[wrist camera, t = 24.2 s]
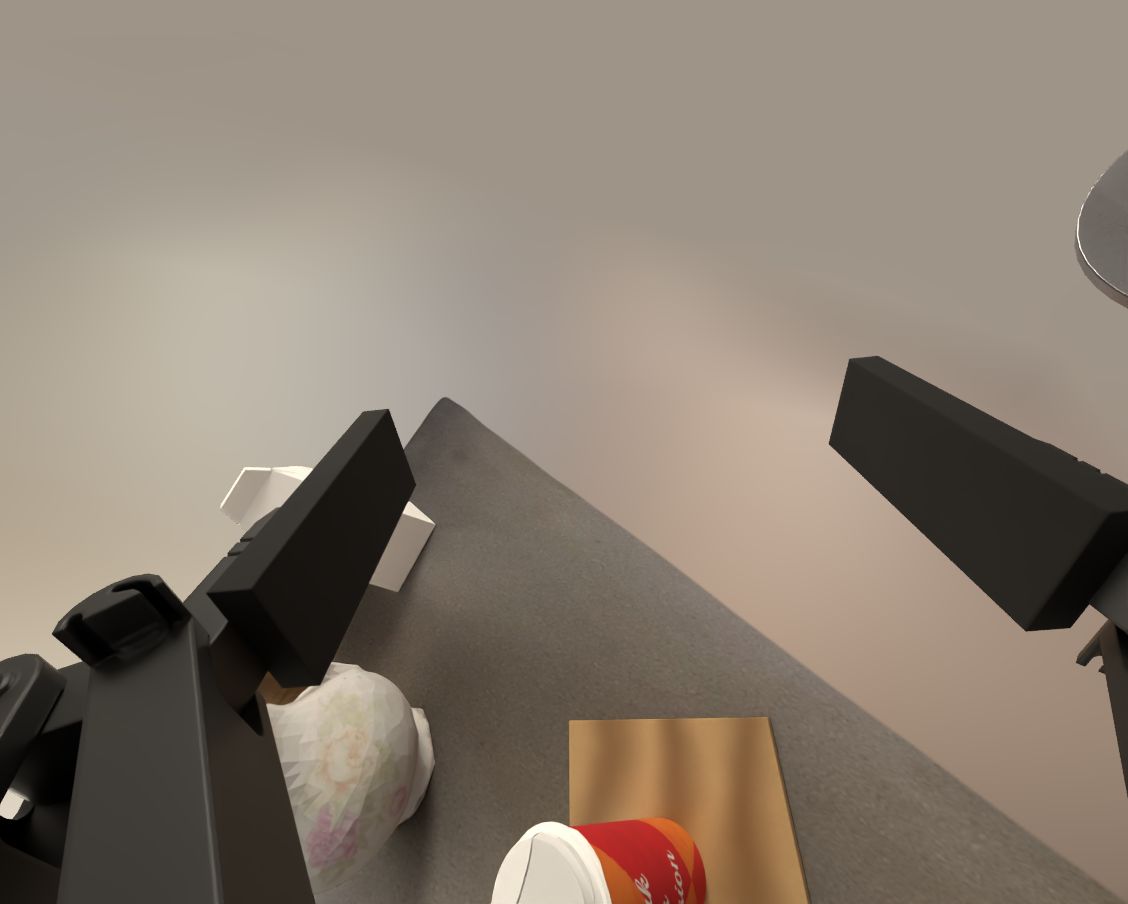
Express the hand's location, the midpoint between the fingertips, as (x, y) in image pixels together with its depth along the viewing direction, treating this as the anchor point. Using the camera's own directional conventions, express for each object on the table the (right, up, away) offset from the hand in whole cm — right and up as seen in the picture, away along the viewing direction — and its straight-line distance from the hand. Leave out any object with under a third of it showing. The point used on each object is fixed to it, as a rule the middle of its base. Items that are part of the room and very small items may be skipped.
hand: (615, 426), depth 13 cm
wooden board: (+6, -31, +18) cm, 36 cm away
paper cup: (+6, -30, +18) cm, 36 cm away
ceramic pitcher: (-21, -38, +40) cm, 59 cm away
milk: (-29, -17, +61) cm, 69 cm away
